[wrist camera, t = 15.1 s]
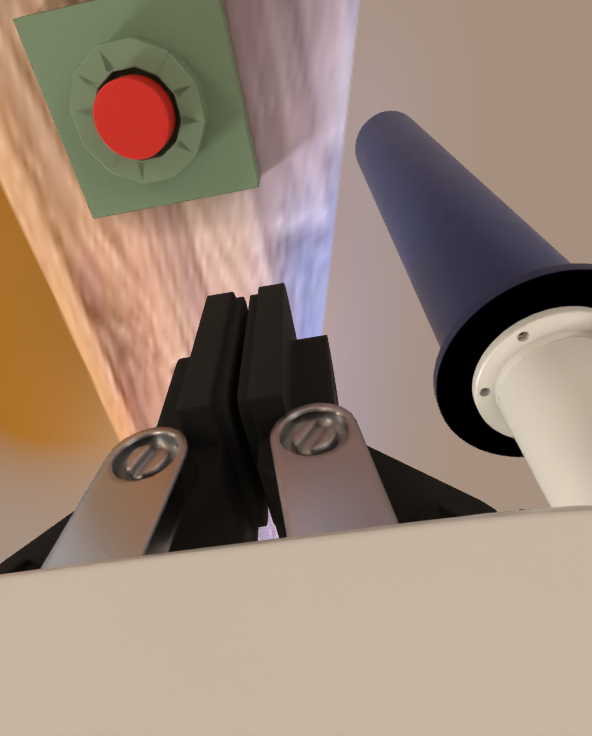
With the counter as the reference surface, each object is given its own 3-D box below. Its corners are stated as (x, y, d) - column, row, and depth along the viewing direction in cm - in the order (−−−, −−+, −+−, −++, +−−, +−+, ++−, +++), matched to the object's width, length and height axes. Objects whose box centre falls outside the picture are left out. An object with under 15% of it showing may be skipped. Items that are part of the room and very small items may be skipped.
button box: (217, -25, 27) (207, -30, 23) (260, 177, 32) (257, 196, 29) (30, 18, 28) (-5, 19, 24) (103, 207, 33) (83, 229, 30)
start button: (162, 67, 26) (155, 70, 24) (184, 144, 28) (178, 152, 26) (91, 82, 26) (80, 86, 25) (118, 158, 28) (109, 166, 27)
